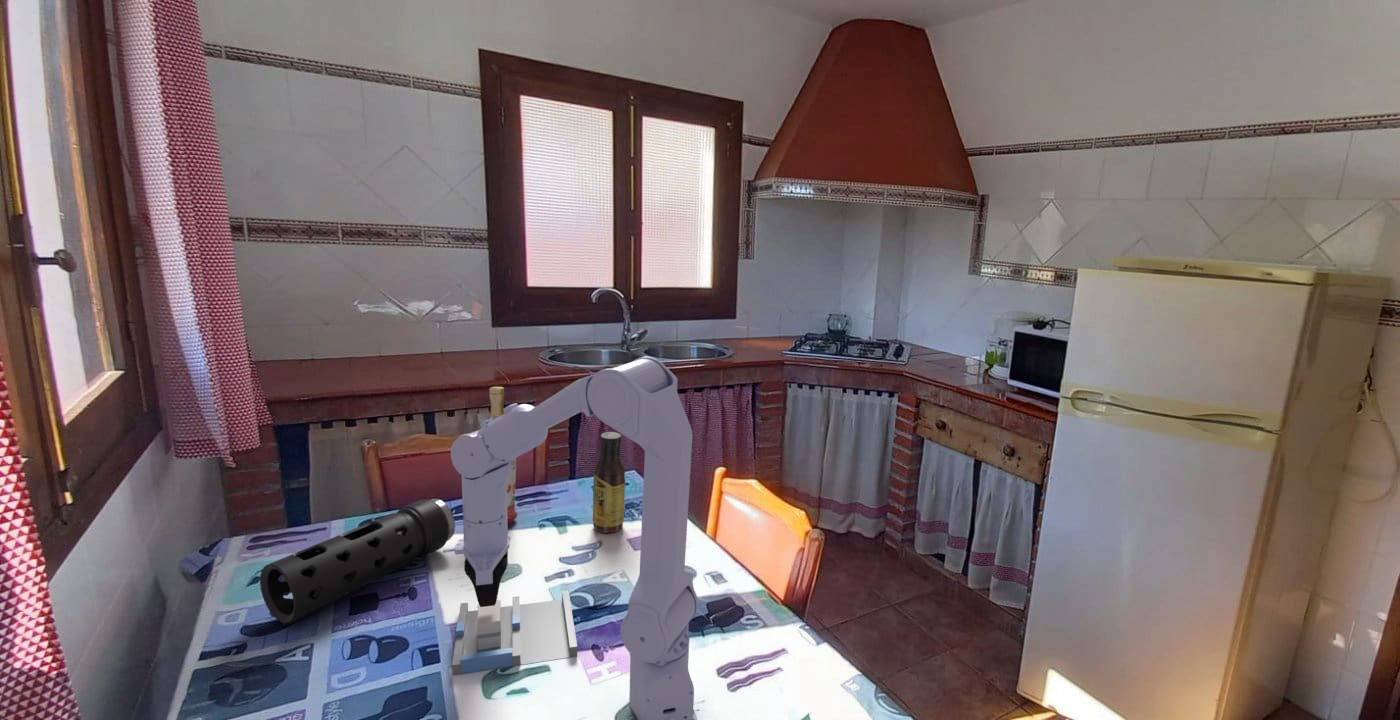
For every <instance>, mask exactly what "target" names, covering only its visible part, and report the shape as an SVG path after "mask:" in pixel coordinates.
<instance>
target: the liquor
mask: <svg viewBox="0 0 1400 720" xmlns="http://www.w3.org/2000/svg"><path fill="white" fill-rule="evenodd" d="M504 399H505V388H504V387H503V386H491V387H489V400H490V404H491V405H490V414H489V415H490V416H489V417H490V418H489V420H490V419H491V420H492V421H493V420H495V419H497V418H498V417H500V416H502V415H503V414H505V412H504V410H503V409H504V408H505V407H504ZM516 471H517V457H516V458H514V459H513V460H512V462H511V463H510V466H509V474H508V476H507V524H508V525H510V524H512V523H513V522H514V521H515V519H516V518H517V517H518V512H517V511H516V473H517V472H516Z"/></svg>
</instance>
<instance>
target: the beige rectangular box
mask: <svg viewBox="0 0 1400 720" xmlns="http://www.w3.org/2000/svg"><path fill="white" fill-rule="evenodd" d="M477 607H478V609H477V610H478V621H477V629H478V650H481V649H487V648H494V647H500V646H501V607H502V606H501V600H497V601H496V604H495V605H494V606H486V607H480V605H479V604H478V605H477Z"/></svg>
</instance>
